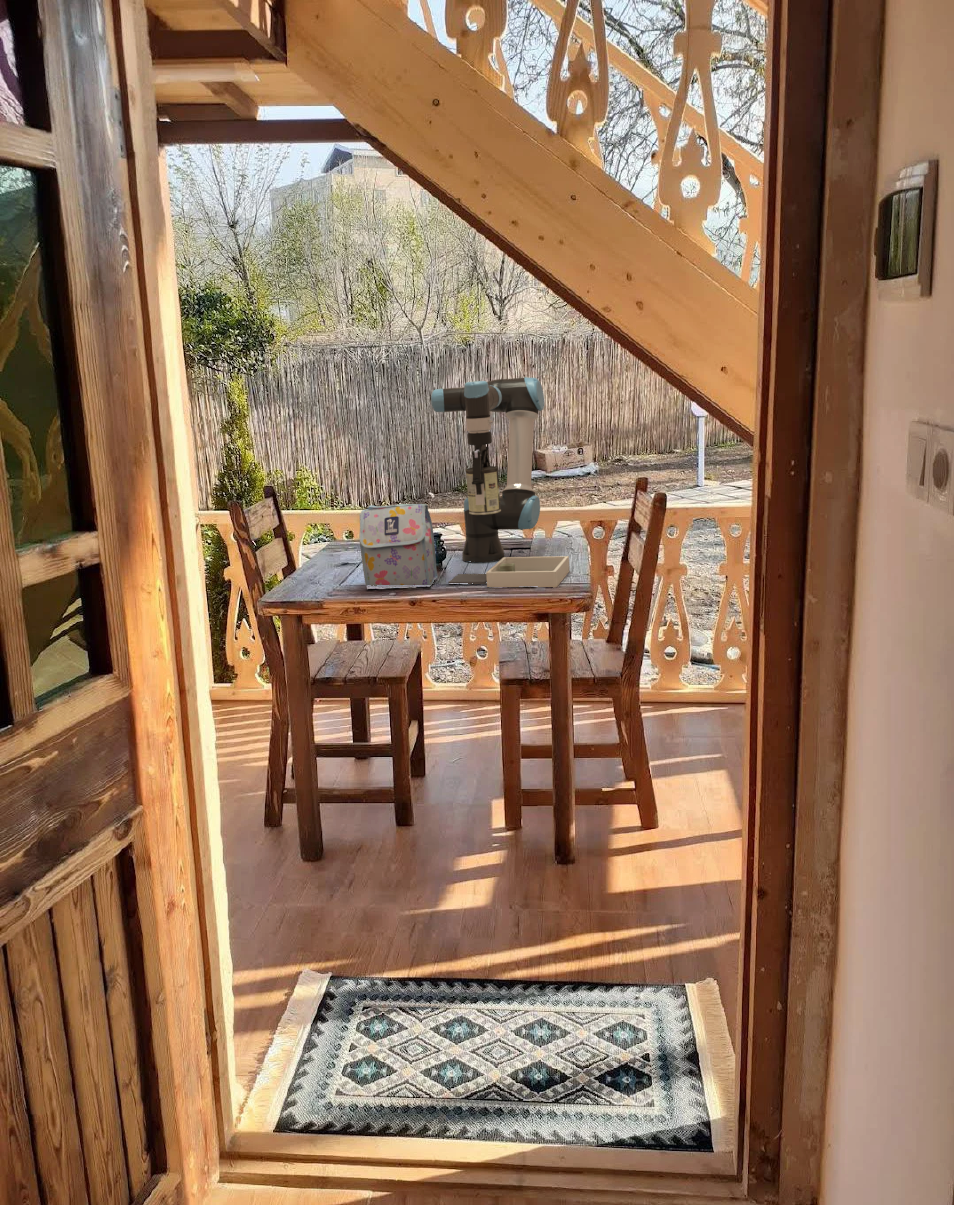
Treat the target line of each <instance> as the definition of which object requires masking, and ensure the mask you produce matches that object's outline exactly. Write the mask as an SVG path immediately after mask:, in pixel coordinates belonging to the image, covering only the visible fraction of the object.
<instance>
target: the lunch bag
mask: <svg viewBox="0 0 954 1205" xmlns="http://www.w3.org/2000/svg"><path fill="white" fill-rule="evenodd" d="M359 547H360V548H359V549H360V555H361V562H362V563H361V564H362V570H363V571H362V572H363V576H364V577H363V579H364V584H365V586H366V585H371V586H373V585H374V586H377V585H431V584H432V583H433V582H434V578H439V576H438V571H437V560H436V547H435V539H434V527H433V521H432V518H431V514H430V510H429V506H428V504H426V503H416V504H415V503H409V504H407V503H404V504H403V503H402V504H401V503H400V504H394V505H382V506H381V505H380V506H377V505H374V504H373V505H369V506H368V508H366V509H362V510H360V513H359ZM434 583H435V582H434ZM434 583H433V584H434Z"/></svg>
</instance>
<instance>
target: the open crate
mask: <svg viewBox="0 0 954 1205" xmlns="http://www.w3.org/2000/svg"><path fill="white" fill-rule="evenodd" d="M508 563H515V572H500V566H501V565H502V564H508ZM569 572H570V556H567V555H566V556H565V555H564V556H563V555H561V556H560V555H559V556H555V555H554V556H508V557H507V556H505V557H503V558H502V559H501V560H498V562H496V563H495V564H494V565H493V566H492V567H491V568H489V570H487V571H486V572H485V574H486V577H487V583H486V588H487V587H519V586H538V587H553V589H555V588H557V587H559V585H560V584H561V583H562V581H563V580H564V579H565V578H566V576H567V575H568V574H569Z"/></svg>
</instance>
